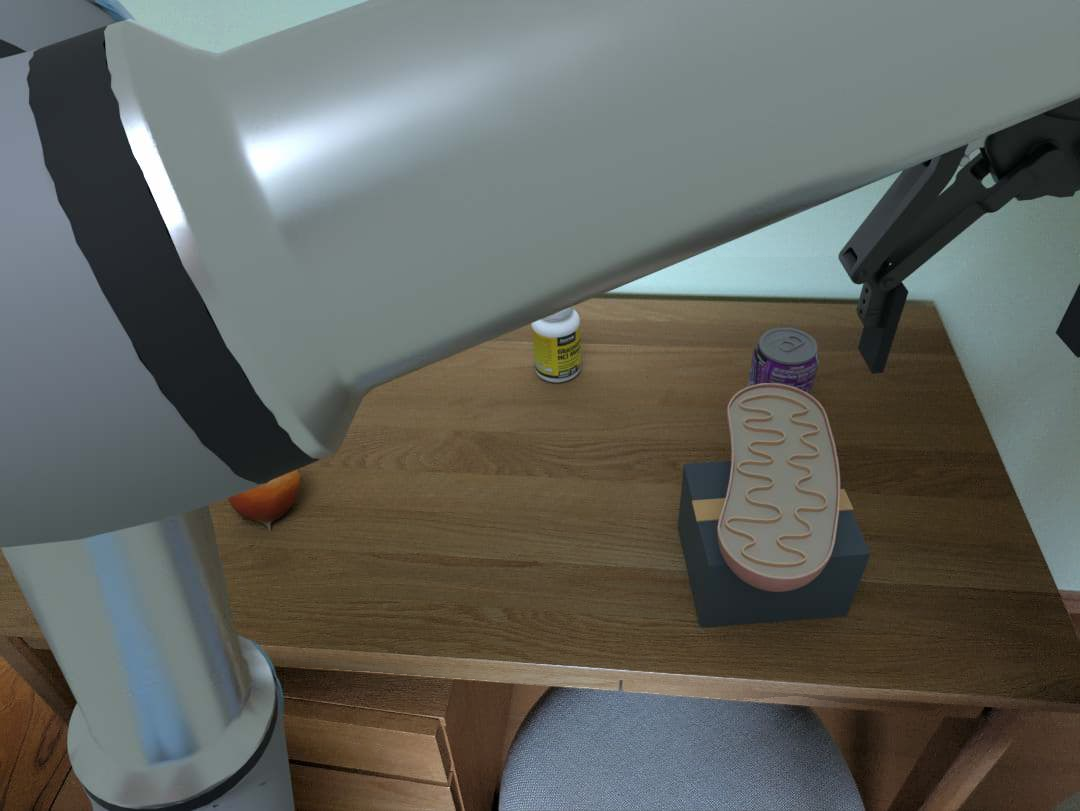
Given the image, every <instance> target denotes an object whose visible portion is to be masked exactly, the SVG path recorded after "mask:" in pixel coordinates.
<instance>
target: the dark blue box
mask: <svg viewBox="0 0 1080 811" xmlns="http://www.w3.org/2000/svg"><path fill="white" fill-rule="evenodd" d="M730 469H731V460H719V461H708V462H707V461H706V462H693V463H683V467H682V478H681V488H680V500H679V509H678V510H679V511H678V520H677V521H678V522H677V530H678V535H679V539H680V544H681V549H682V553H683V558H684V562H685V566H686V571H687V575H688V581H689V585H690V590H691V594H692V598H693V603H694V608H695V611H696V616H697V621H698V626H699V628H710V627H724V626H737V625H738V626H739V625H750V624H763V623H777V622H778V623H779V622H790V621H803V620H817V619H818V620H819V619H829V618H843V617H848V614H849V611H850V609H851V606H852V603H853V601H854V598H855V596H856V593H857V590H858V589H859V586H860V583H861V580H862V577H863V575H864V572H865V569H866V567H867V565H868V561H869V559H870V556H871V551H870V549H869V546H868V544H867V542H866V540H865V537H864V535H863V533H862V530H861V528H860V526H859V524H858V522H857V519H856V517H855V515H854V512H853V510H854V506H853V505H852V502H851V501H850V498H849V496H848V494H847V491H846V489H845V488H842V485H841V484H840V504H839V517H838V524H837V531H836V539H835V544H834V547H833V551H832V554H831V557H830V559H829V561H828V563H827V565H826V566H825V567H824V569H823V570H822V571H821V573H820V574H819V575H818V576H817V577H816V578H815V579H813V580H812V581H811V582H809V583H808V584H807V585H804V586H802V587H800V588H798V589H794V590H791V591H783V592H771V591H765V590H762V589H758V588H756V587H753V586H752V585H750V584H748V583H746V582H744V581H743V580H741V579H740V578H739V577H738V576H737V575H736V574H735V573H734V572H733V571H732V570H731V569H730V567H729V566H728V565H727V563H726V561H725V559H724V557H723V555H722V553H721V551H720V547H719V543H718V533H717V526H718V522H719V518H720V515H721V511H722V508H723V504H724V501H725V497H726V494H727V489H728V484H729V478H730Z"/></svg>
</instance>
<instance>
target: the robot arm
mask: <svg viewBox="0 0 1080 811" xmlns="http://www.w3.org/2000/svg"><path fill="white" fill-rule="evenodd" d="M978 149H979V153H978V154H976V155H975V156H974V157H973V158H972V159H970V158H971V157H969V156H970V155H971V154H972V153H973V152H975V151H976V150H978ZM959 167H961V168H960V169H959V171H958V168H959ZM957 171H958V172H957ZM898 173H899V175H898V176H897V177H896V179H895V180H894V181H893V182H892V184H891V185H890V187H889V188H887V191H885V193H884V194H883V196H881V198H880V200H879V201H878V202H877V203H876V205H875V206H874V207H873V208H872V210H871V211H870V212H869V214H868V215H867V216H866V217H865V219H864V220H863V221H862V222H861V224H860V225H859V227H857V229H856V231H855V232H854V233H853V234H852V235H851V237H850V238H849V239H848V241H847V242H846V244H845V245H844V246H843V247H842V249H841V250H840V251H839V253H838V255H837V257H838V261H839V262H840V264H841V266H842V267H843V269H844V271H845V273H847V276H848V277H849V279H850V281H851V282H852V283H853V284H854V285H862V287H861V291H860V294H859V298H858V302H857V305H856V309H855V310H856V314H857V317H858V319H859V320H860V322H861V324H862V326H863V327H862V331H861V335H860V339H859V342H858V346H857V349H858V352H859V353H860V355H861V357H862V359H863V360H864V362H865V364H866V366H867V368H868V370H869V372H870V373H871V375H873V374H874V375H875V374H883V373H884V372H885V368H886V365H887V363H888V358H889V355H890V353H891V349H892V346H893V342H894V340H895V337H896V333H897V329H898V327H899V324H900V321H901V316H902V314H903V311H904V308H905V304H906V301H907V298H908V295H909V290H908V289H907V287H906V285H905V284H904V283H903V281H905V280H906V279H907V278H909V276H911V275H912V274H914V273H915V272H916V271H917V270H918V269H920V267H922V266H923V265H924V264H926V263H927V262H928V261H930V259H932V258H933V257H934V256H935V255H936V254H938V253H939V252H940V251H942V249H944V248H945V247H947V245H948V244H950V243H951V242H952V241H954V240H955V239H956V238H957V237H958V236H960V235H961V234H962V233H964V231H966V230H967V229H968V228H969V227H971V226H972V225H973V224H974V223H975V222H977V221H978V220H979V219H980V218H982V216H984V215H985V214H992V213H996V212H998V211H1000V210H1001V209H1002V208H1003V207H1004V206H1006V205H1007V204H1008V203H1009V202H1011V200H1013V199H1015V200H1016V201H1018V202H1022V201H1033V200H1036V199H1039V198H1042V197H1043V198H1044V197H1047V196H1048V197H1049V196H1050V197H1054V198H1070V197H1074V196H1075V194H1076V192H1078V191H1080V0H365V1H363V2H360V3H357V4H354V5H351V6H349V7H346V8H342V9H340V10H337V11H334V12H331V13H329V14H326V15H323V16H319V17H316V18H314V19H311V20H308V21H305V22H303V23H300V24H297V25H294V26H291V27H288V28H286V29H283V30H280V31H277V32H273V33H271V34H268V35H265V36H263V37H262V36H261V37H260V38H256V39H254V40H251V41H247V42H246V43H243V44H240V45H237V46H234V47H231V48H228V49H225V50H222V51H220V52H216V51H215V52H214V51H210V50H206V49H203V48H197V47H194V46H191V45H189V44H188V43H185V42H183V41H180V40H178V39H176V38H174V37H172V36H170V35H167V34H166V33H163V32H161V31H158V30H157V29H154V28H152V27H150V26H148V25H145V24H144V23H141V22H138V20H137V19H136V18H135V17H134V16H133V14H131V12H129V10H128V9H127V8H126V6H124V5H123V3H121V1H119V0H0V550H1V552H2V554H3V556H4V558H5V559H6V561H7V564H8V565H9V568H10V570H11V572H12V574H13V576H14V578H15V580H16V582H17V584H18V586H19V588H20V590H21V592H22V594H23V596H24V598H25V600H26V602H27V604H28V606H29V608H30V610H31V612H32V614H33V616H34V618H35V621H36V622H37V624H38V626H39V628H40V631H41V632H42V634H43V637H44V638H45V640H46V643H47V644H48V646H49V649H50V651H51V653H52V655H53V657H54V659H55V660H56V663H57V665H58V667H59V669H60V671H61V673H62V675H63V677H64V679H65V682H66V683H67V685H68V687H69V689H70V691H71V693H72V695H73V697H74V700H75V701H76V704H75V706H74V708H73V711H72V713H71V716H70V720H69V723H68V729H67V737H66V739H67V742H66V744H67V746H66V747H67V754H68V759H69V761H70V765H71V768H72V770H73V773H74V774H75V776H76V777H77V779H78V781H79V783H80V785H81V787H82V789H83V791H84V792H85V794H86V796H87V797H88V799H89V801H90V803H91V807H92V811H296V809H295V802H294V801H295V800H294V793H293V792H294V791H293V786H292V777H291V768H290V761H289V754H288V747H287V738H286V730H285V722H284V716H285V701H284V700H285V698H284V694H283V692H284V691H283V689H282V685H281V681H280V679H279V678H278V677H277V672H276V669H275V666H274V664H273V662H272V659H271V658H270V656H269V655H268V654H267V653H266V651H264V649H263V648H262V647H261V646H259V645H258V644H257V643H256V642H254V641H253V640H251V639H250V638H245V637H243V636H242V635H240V634H239V633H238V630H237V625H236V620H235V615H234V612H233V607H232V602H231V599H230V594H229V589H228V585H227V580H226V576H225V572H224V567H223V562H222V559H221V554H220V548H219V545H218V540H217V536H216V532H215V527H214V522H213V519H212V514H211V509H210V505H213V504H215V503H219V502H222V501H225V500H228V498H230V497H232V496H235V495H237V494H240V493H243V492H245V491H248V490H251V489H253V488H256V487H258V486H261V485H264V484H266V483H268V482H269V481H271V480H273V479H275V478H278V477H280V476H283V475H285V474H287V473H290V472H292V471H294V470H297V469H298V470H299V469H301V468H304V467H307V466H310V465H311V464H314V463H316V462H319V461H321V460H325V459H327V458H328V457H330V456H333V455H335V454H337V453H338V452H339V451H340V449H341V447H342V444H343V443H344V440H345V439H346V436H347V433H348V432H349V429H350V427H351V425H352V423H353V420H354V418H355V416H356V414H357V411H358V409H359V407H360V406H361V403H362V401H363V398H364V397H366V395H368V394H370V392H371V391H373V390H375V388H377V387H380V386H383V385H385V384H388V383H390V382H392V381H395V380H397V379H399V378H403V377H405V376H407V375H409V374H411V373H414V372H416V371H419V370H421V369H424V368H426V367H429V366H431V365H433V364H436V363H439V362H441V361H444V360H446V359H448V358H451V357H453V356H456V355H458V354H460V353H463V352H465V351H468V350H470V349H473V348H475V347H478V346H479V345H483V344H485V343H487V342H489V341H492V340H494V339H497V338H499V337H501V336H504V335H506V334H510V333H512V332H514V331H516V330H519V329H521V328H523V327H527V326H528V325H531V323H533V322H536V321H538V320H541V319H543V318H546V317H548V316H550V315H553V314H555V313H558V312H560V311H563V310H565V309H567V308H570V307H572V306H574V307H575V306H577V305H579V304H582V303H584V302H587V301H589V300H592V299H594V298H596V297H599V296H601V295H604V294H606V293H609V292H611V291H613V290H616V289H619V288H621V287H623V286H626V285H628V284H630V283H634V282H635V281H638V280H641V279H643V278H646V277H648V276H651V275H652V274H655V273H658V272H660V271H662V270H664V269H667V268H669V267H672V266H674V265H676V264H679V263H682V262H685V261H687V260H689V259H692V258H694V257H696V256H698V255H701V254H704V253H706V252H709V251H711V250H713V249H716V248H718V247H720V246H724V245H725V244H728V243H730V242H733V241H735V240H738V239H740V238H742V237H745V236H748V235H749V234H752V233H755V232H757V231H759V230H763V229H765V228H766V227H769V226H772V225H774V224H777V223H779V222H781V221H784V220H786V219H788V218H791V217H794V216H797V215H799V214H801V213H803V212H806V211H808V210H810V209H813V208H815V207H818V206H820V205H823V204H825V203H828V202H830V201H832V200H835V199H837V198H840V197H842V196H845V195H847V194H850V193H852V192H854V191H856V190H859V189H861V188H864V187H867V186H869V185H871V184H874V183H876V182H879V181H881V180H883V179H886V178H888V177H890V176H893V175H895V174H898ZM955 174H956V175H955ZM988 175H990V176H991V178H992V180H993V182H994V184H993V185H992V186H990V187H986V186H985V185H984V184H983V180H984V179H985V177H987V176H988ZM954 176H955V180H954V181H953V183H952V184H951V185H949V183H950V182H951V180H952V178H953V177H954ZM948 185H949V186H948ZM947 186H948V187H947ZM946 187H947V188H946ZM945 188H946V189H945ZM1055 334H1056V335H1057V336H1058V338H1059V339H1060V340H1061V341H1062V342H1063V343H1064V345H1065V346H1066V347H1067V348H1068V349H1069V350H1070V351H1071V352H1072V354H1073V355H1074V356H1075V357H1076V358H1077V359H1078V358H1079V359H1080V283H1079V284H1078V286H1077V288H1076V289H1075V291H1074V294H1073V296H1072V298H1071V300H1070V302H1069V304H1068V306H1067V308H1066V310H1065V312H1064V314H1063V316H1062V318H1061V321H1060V322H1059V324H1058V327H1057V328H1056V331H1055Z"/></svg>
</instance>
